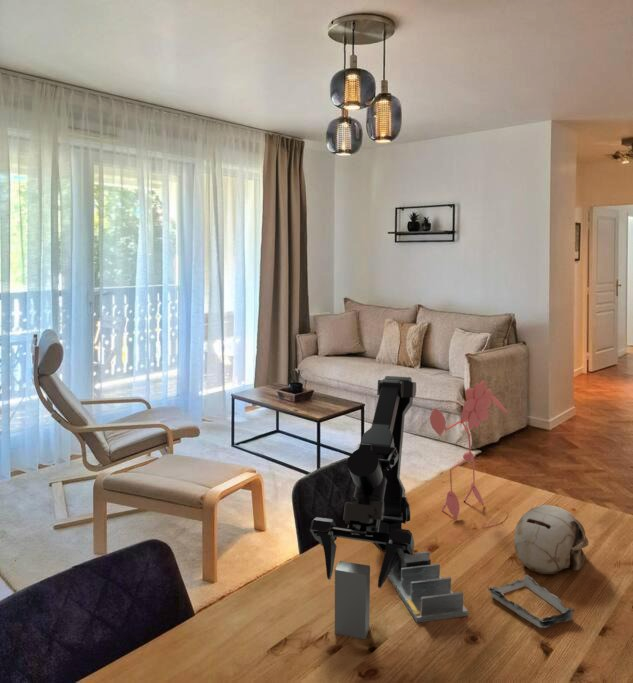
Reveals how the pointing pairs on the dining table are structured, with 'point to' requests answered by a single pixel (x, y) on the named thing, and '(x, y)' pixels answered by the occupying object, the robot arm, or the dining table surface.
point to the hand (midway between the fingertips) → (353, 583)
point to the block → (352, 599)
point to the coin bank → (550, 540)
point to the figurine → (474, 413)
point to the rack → (426, 589)
